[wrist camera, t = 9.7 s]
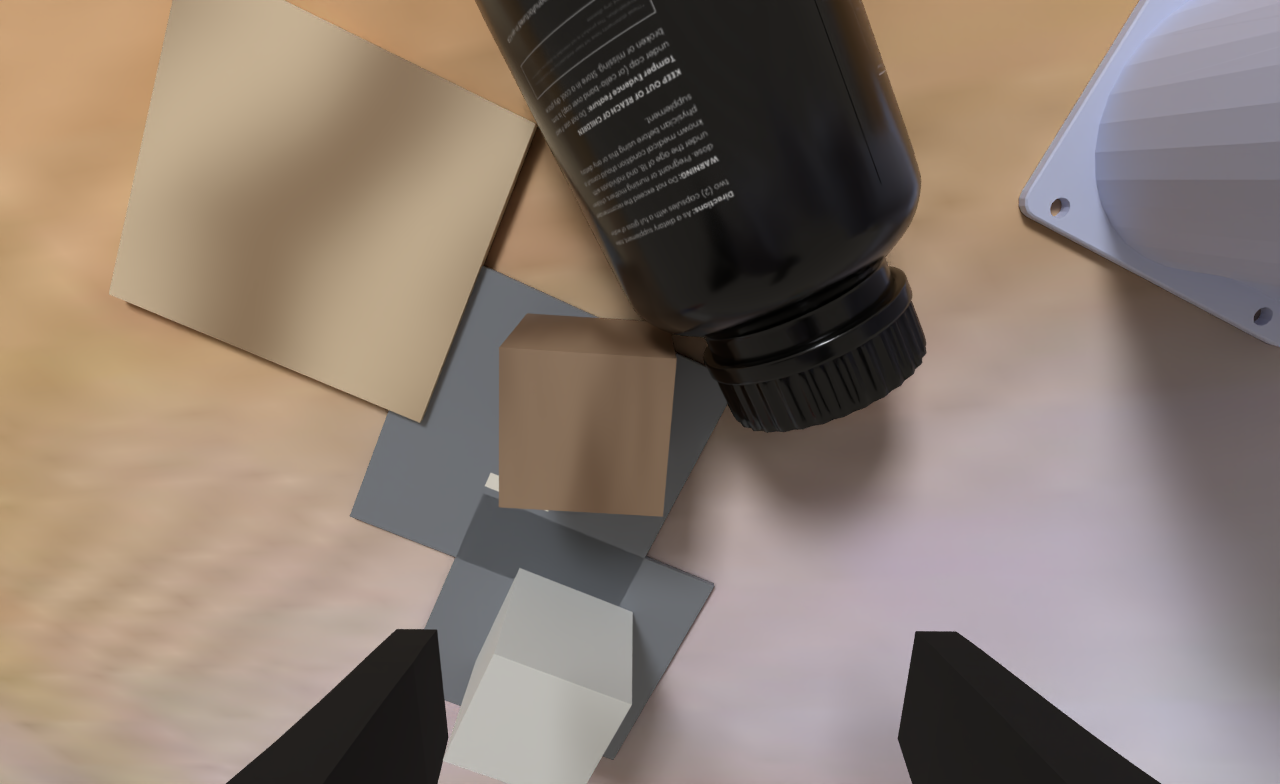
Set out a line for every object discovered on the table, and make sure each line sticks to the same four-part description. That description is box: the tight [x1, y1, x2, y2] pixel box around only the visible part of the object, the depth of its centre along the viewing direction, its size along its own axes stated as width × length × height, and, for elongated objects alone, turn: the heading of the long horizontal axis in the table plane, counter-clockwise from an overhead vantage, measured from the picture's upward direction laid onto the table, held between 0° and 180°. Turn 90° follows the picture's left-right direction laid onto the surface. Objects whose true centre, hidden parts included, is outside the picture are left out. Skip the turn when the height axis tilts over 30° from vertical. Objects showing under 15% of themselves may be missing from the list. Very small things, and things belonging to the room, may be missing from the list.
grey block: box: [443, 568, 633, 784], centre depth 20 cm, size 4×4×4 cm
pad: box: [109, 0, 538, 423], centre depth 18 cm, size 9×9×1 cm
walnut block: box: [499, 313, 677, 517], centre depth 17 cm, size 4×4×4 cm
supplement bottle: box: [475, 0, 926, 433], centre depth 14 cm, size 7×7×12 cm
